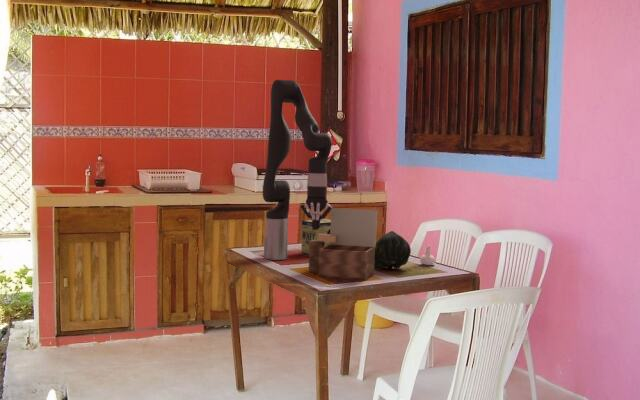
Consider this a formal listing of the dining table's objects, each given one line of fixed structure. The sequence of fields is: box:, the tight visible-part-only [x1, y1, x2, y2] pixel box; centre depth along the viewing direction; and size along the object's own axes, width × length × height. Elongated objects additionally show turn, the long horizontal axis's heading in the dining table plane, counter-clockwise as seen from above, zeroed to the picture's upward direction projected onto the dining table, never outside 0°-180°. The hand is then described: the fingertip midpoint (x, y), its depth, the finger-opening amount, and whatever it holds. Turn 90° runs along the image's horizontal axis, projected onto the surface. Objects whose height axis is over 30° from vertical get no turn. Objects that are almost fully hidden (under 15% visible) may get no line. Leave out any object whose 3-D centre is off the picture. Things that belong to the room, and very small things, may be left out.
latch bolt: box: [318, 234, 338, 242], centre depth 271 cm, size 7×4×2 cm, turn 73°
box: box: [308, 240, 375, 281], centre depth 268 cm, size 24×14×12 cm, turn 73°
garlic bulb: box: [419, 245, 436, 266], centre depth 297 cm, size 6×6×8 cm
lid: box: [330, 207, 378, 247], centre depth 274 cm, size 18×14×1 cm
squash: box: [374, 230, 412, 270], centre depth 281 cm, size 14×15×15 cm
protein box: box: [301, 218, 331, 256], centre depth 314 cm, size 10×16×16 cm
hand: (316, 229), depth 273 cm, fingers closed
